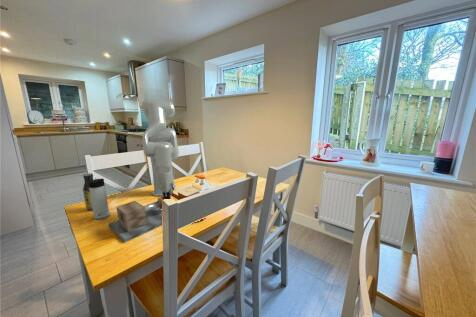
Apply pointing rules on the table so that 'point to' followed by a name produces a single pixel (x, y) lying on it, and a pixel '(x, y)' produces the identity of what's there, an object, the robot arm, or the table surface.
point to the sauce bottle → (87, 191)
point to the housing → (135, 220)
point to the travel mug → (98, 199)
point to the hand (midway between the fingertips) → (167, 202)
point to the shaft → (154, 204)
